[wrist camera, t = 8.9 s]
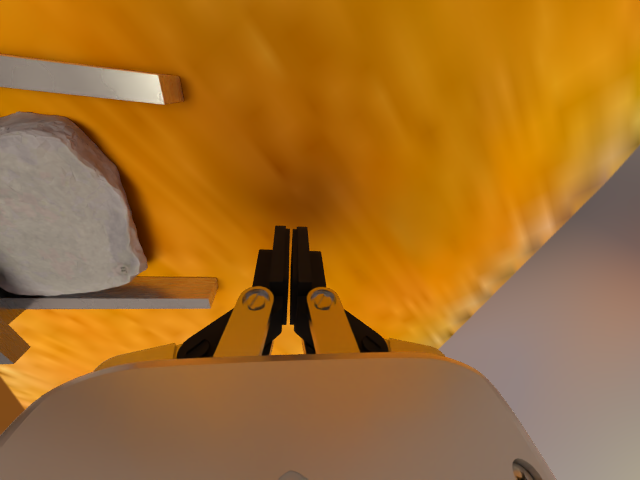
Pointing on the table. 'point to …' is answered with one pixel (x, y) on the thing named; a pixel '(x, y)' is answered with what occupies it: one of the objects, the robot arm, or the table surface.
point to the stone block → (61, 211)
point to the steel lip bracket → (141, 291)
